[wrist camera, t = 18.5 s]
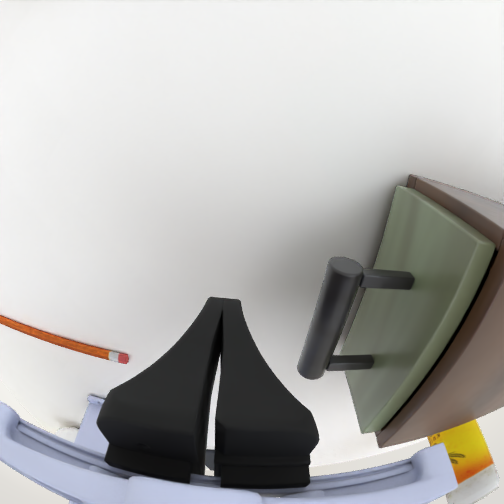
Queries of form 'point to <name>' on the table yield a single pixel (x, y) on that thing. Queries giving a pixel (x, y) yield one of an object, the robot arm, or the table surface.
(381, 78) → the table surface
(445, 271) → the drawer
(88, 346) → the pencil
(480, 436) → the beer can
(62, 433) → the geometric ball
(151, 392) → the robot arm
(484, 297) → the cabinet
